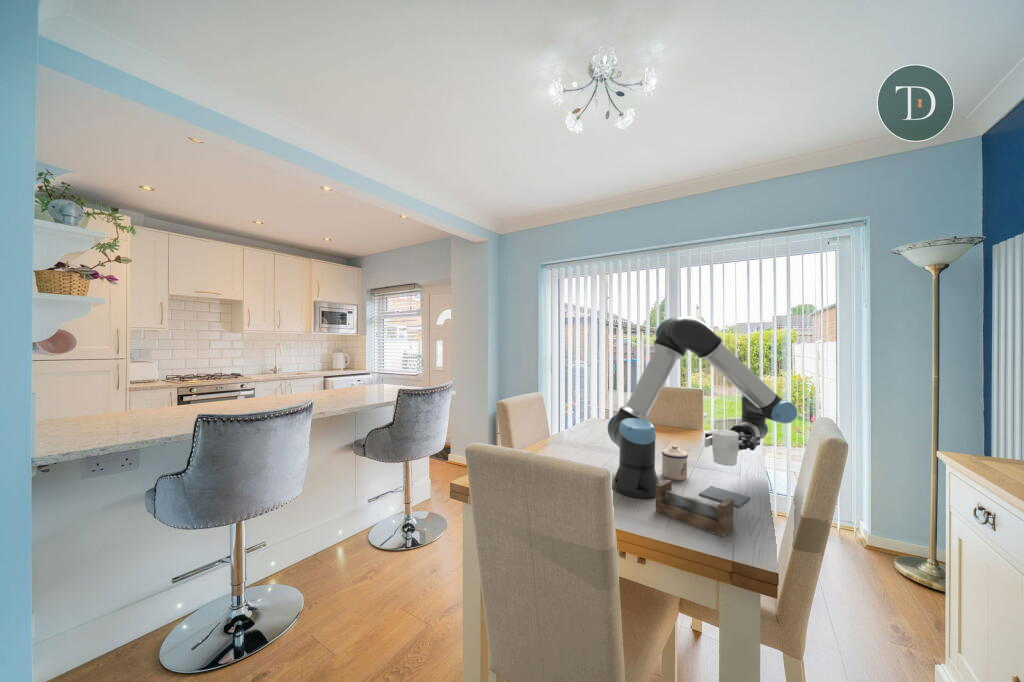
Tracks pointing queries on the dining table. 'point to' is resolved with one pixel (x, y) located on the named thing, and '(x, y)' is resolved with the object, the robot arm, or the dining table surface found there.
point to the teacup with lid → (674, 463)
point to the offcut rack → (695, 509)
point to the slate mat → (724, 495)
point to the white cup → (724, 447)
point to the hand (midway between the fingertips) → (719, 445)
